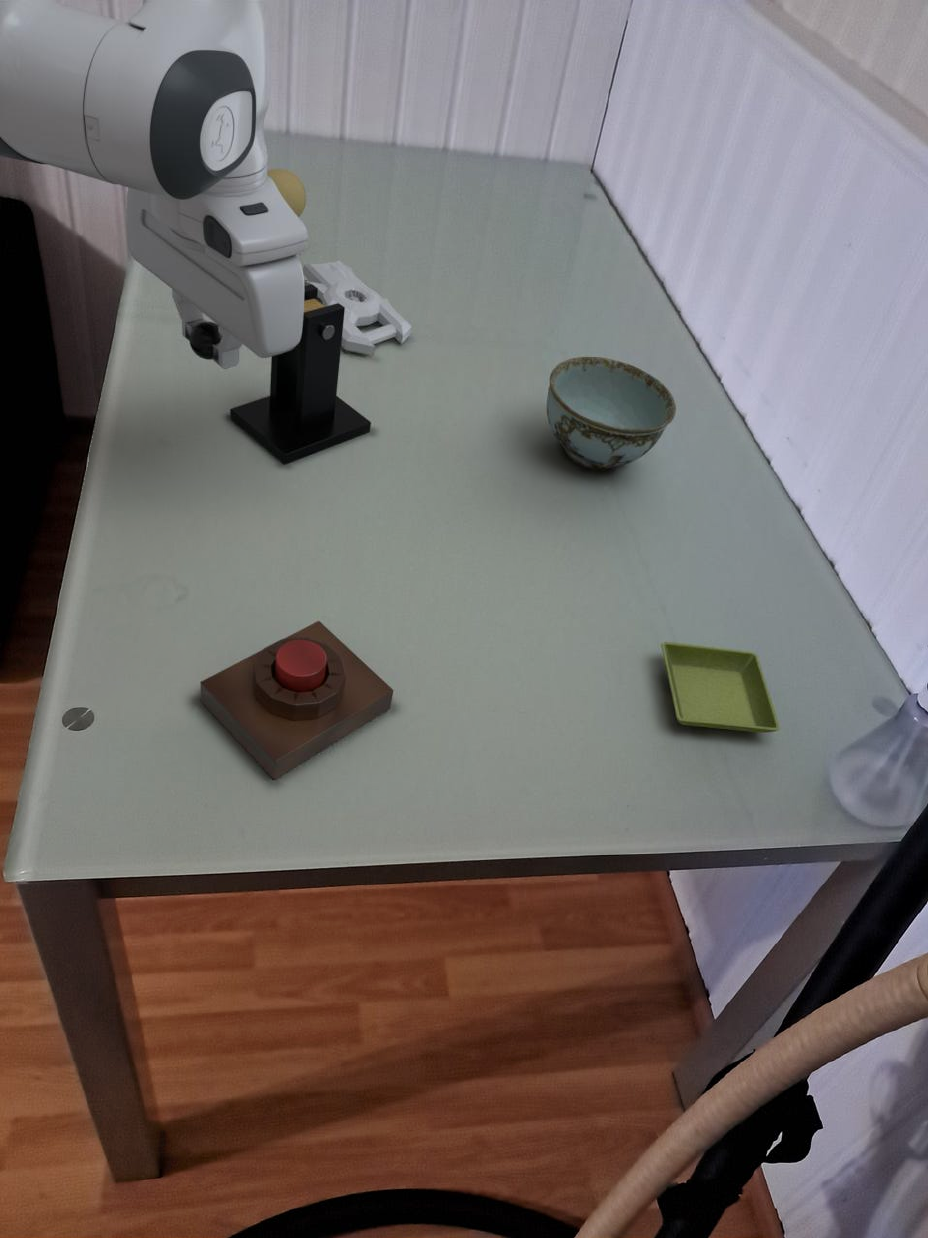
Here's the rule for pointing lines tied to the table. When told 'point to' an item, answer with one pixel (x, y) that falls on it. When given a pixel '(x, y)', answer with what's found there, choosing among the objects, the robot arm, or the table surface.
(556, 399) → the bowl
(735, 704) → the green square tray
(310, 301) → the lever
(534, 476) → the table surface
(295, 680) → the button
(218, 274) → the robot arm
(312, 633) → the button block
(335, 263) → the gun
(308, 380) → the bracket
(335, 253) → the table surface
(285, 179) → the light bulb
